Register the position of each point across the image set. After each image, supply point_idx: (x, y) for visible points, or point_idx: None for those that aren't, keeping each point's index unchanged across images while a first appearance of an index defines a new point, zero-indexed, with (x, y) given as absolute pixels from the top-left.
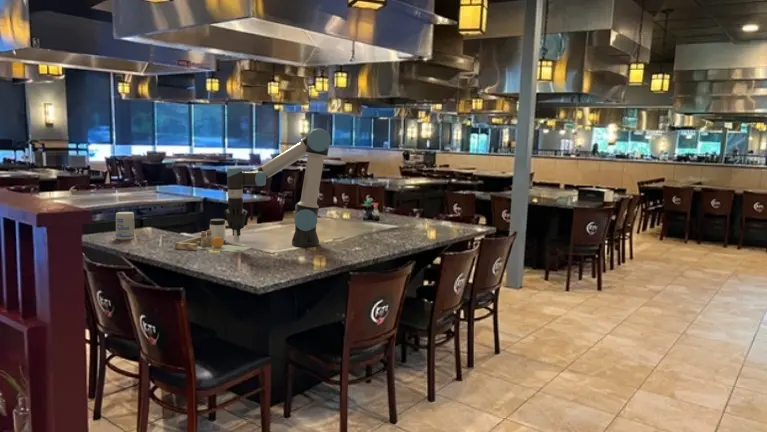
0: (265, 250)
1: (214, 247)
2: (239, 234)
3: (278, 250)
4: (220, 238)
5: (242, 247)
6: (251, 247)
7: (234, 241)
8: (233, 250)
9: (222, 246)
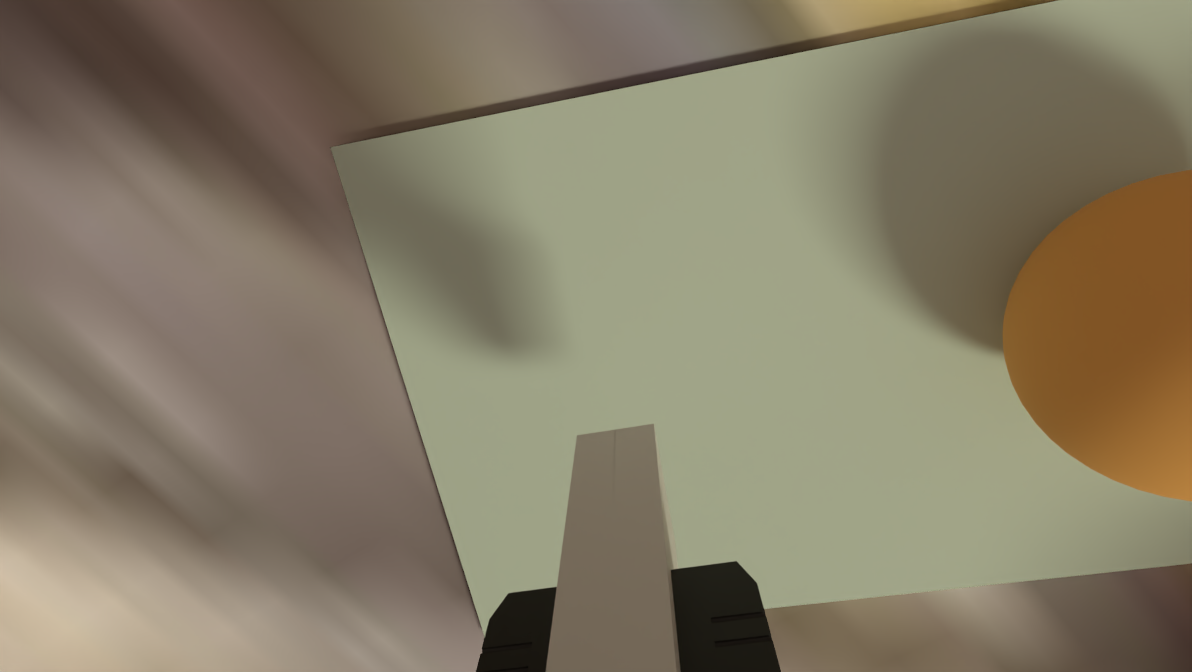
0: (141, 572)
1: None
2: (494, 655)
3: (4, 665)
4: (1172, 387)
5: None
6: None
7: (644, 435)
8: (561, 228)
9: None
